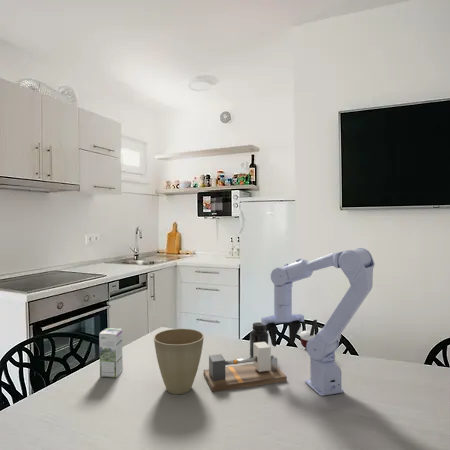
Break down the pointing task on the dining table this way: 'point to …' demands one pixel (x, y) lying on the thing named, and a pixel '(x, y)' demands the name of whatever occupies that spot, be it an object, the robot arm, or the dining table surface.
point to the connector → (217, 367)
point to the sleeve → (262, 356)
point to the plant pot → (178, 357)
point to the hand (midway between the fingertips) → (282, 344)
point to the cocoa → (308, 334)
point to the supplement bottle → (258, 335)
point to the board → (244, 377)
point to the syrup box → (110, 352)
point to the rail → (273, 361)
